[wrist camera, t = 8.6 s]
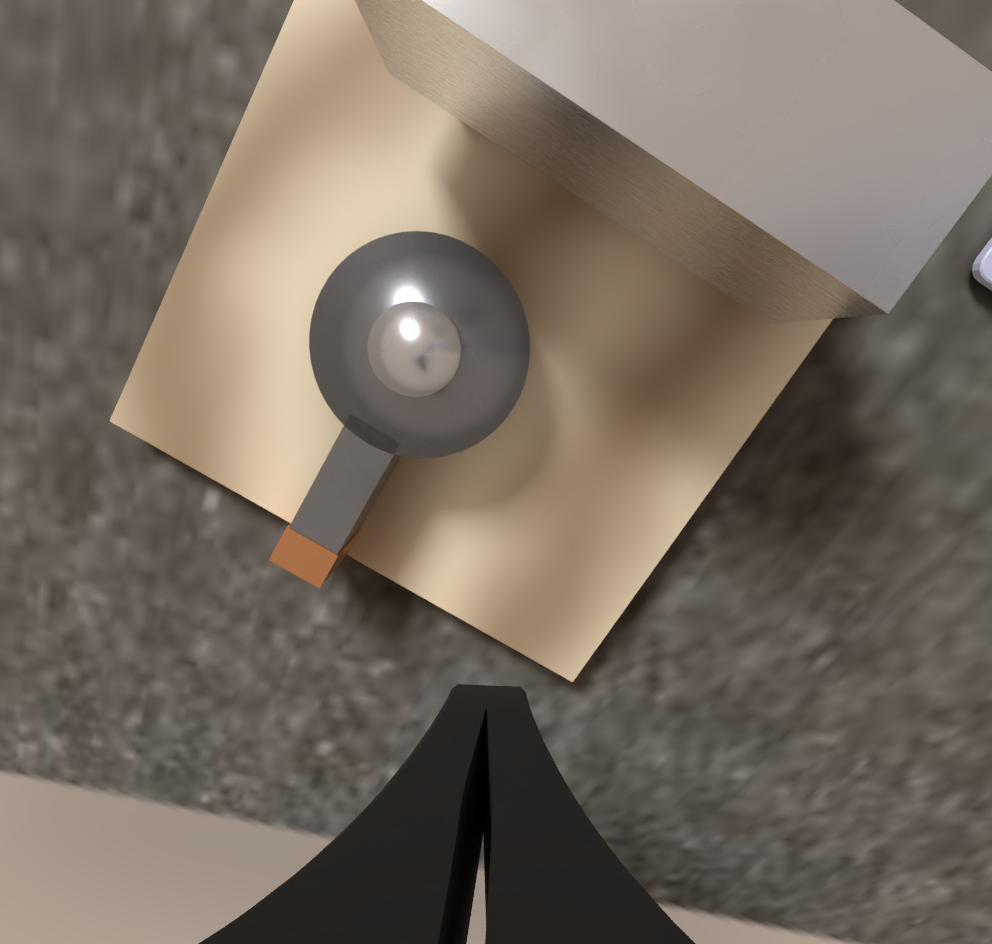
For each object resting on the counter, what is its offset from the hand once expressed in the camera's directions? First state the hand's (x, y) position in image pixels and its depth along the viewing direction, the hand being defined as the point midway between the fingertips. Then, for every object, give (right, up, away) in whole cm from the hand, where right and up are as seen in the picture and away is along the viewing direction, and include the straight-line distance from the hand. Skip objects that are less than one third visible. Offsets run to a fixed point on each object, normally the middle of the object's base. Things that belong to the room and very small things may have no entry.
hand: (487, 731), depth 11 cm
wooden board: (0, +11, +8) cm, 13 cm away
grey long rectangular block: (+4, +14, +4) cm, 15 cm away
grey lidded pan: (-3, +7, +7) cm, 10 cm away
